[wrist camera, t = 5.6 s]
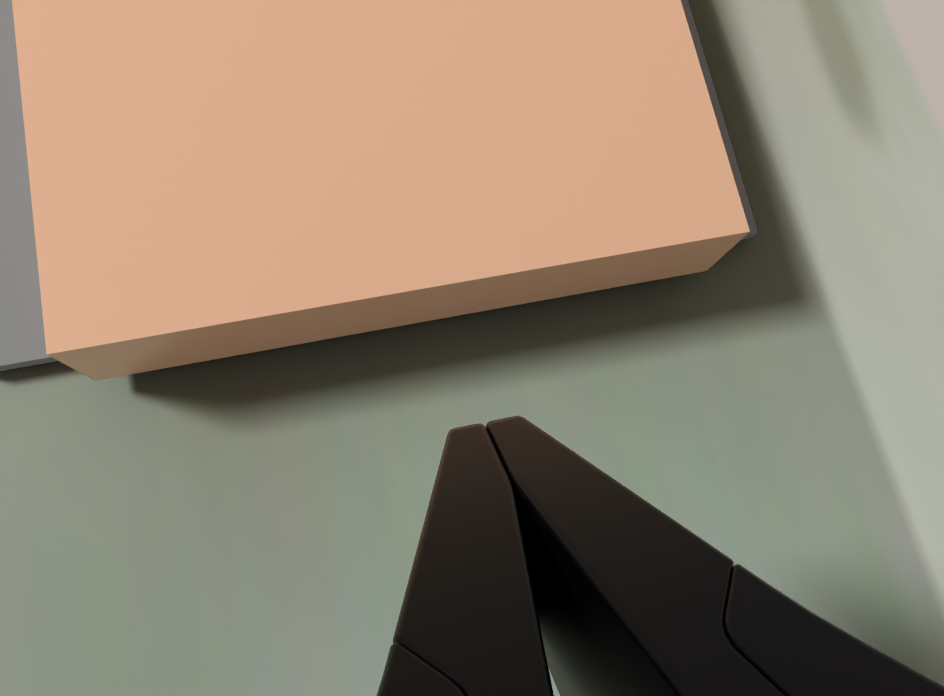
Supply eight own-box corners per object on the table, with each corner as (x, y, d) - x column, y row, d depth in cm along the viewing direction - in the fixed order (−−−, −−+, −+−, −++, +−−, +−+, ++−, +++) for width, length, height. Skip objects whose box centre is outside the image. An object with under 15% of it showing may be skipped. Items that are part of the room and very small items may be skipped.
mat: (751, 238, 20) (758, 232, 20) (-19, 374, 18) (-28, 370, 17) (630, -164, 23) (634, -177, 22) (-57, -89, 20) (-66, -101, 20)
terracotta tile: (750, 231, 17) (631, -165, 19) (46, 354, 15) (2, -98, 17) (706, 271, 19) (605, -86, 22) (95, 380, 18) (51, -19, 20)
